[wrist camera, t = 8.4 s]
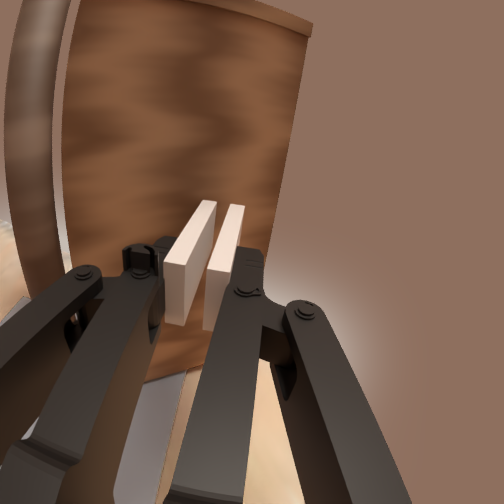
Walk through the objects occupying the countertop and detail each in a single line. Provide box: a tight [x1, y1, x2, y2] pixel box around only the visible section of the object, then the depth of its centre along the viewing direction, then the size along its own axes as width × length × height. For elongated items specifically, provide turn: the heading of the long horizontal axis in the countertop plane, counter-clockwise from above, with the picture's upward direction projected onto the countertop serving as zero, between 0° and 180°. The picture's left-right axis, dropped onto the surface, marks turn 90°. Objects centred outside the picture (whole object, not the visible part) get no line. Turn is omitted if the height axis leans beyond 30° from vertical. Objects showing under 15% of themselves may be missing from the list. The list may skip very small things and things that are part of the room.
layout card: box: [0, 296, 187, 504], centre depth 16 cm, size 20×20×1 cm
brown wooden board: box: [61, 0, 313, 382], centre depth 16 cm, size 12×1×25 cm, turn 123°
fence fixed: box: [4, 0, 77, 322], centre depth 15 cm, size 16×2×26 cm, turn 42°
